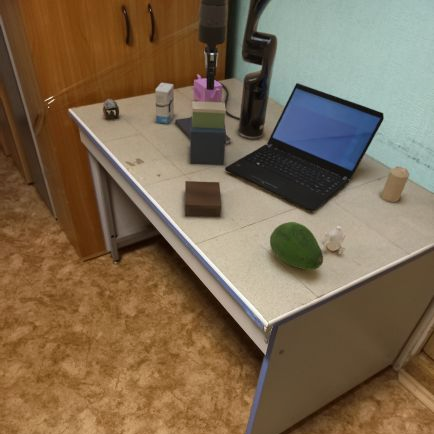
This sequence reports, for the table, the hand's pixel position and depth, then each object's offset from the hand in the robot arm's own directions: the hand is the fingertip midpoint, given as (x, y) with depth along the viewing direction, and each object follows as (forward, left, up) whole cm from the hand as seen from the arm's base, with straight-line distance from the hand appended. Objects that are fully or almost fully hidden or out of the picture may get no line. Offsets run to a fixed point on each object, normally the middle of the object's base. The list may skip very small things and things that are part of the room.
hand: (209, 84), depth 127 cm
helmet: (-27, -35, -24) cm, 50 cm away
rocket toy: (+48, +32, -24) cm, 62 cm away
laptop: (+8, +30, -24) cm, 39 cm away
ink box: (-28, -15, -24) cm, 40 cm away
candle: (+22, +57, -24) cm, 66 cm away
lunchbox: (0, 0, -12) cm, 12 cm away
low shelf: (+29, -2, -23) cm, 37 cm away
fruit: (+53, +21, -24) cm, 62 cm away
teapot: (-44, +1, -24) cm, 50 cm away
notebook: (-17, -1, -24) cm, 29 cm away
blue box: (0, 0, -23) cm, 23 cm away
